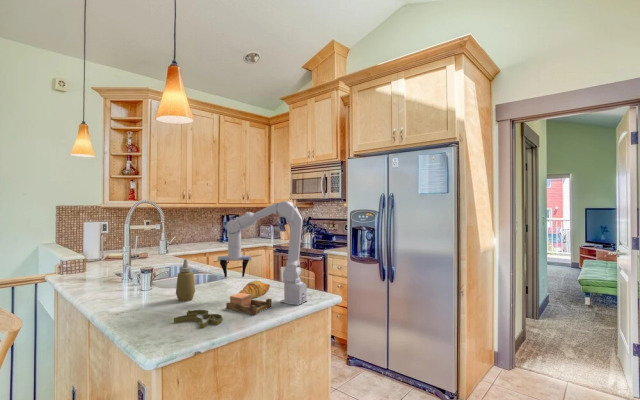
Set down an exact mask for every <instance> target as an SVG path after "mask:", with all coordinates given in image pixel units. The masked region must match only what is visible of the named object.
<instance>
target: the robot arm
mask: <svg viewBox="0 0 640 400" xmlns="http://www.w3.org/2000/svg"><path fill="white" fill-rule="evenodd" d="M272 214H275V215H280V216H281V217H283V218H285V219H286V220H287V222H289V223H290V232H289V239H288V240H289V241H288V254H287V261H286V264H285V269H284V271H283V272H282V277H283V279H284V280H283V281H284V283H283V285H284V286H283V289H284V290H283V295H284V296H283V297H284V298H283V299H282V300H280V301H279V302H280V303H282V302H284V303H285V304H288V303H289V304H290V305H294V304H295V305H294V306H300V305H301V303H302V304H304V303H306V302H308V298H307V297H308V295H307V294H308V292H307V289H308V288H307V284H306V283H305V282H303V281H302V280H301V277H300V276H301V274H302V268H301V261H300V253H301V241H302V232H303V231H302V230H303V217H302V215H301V213H300V211H299V209H298V207H297V205H295V203H294V202H292V201H290V200H287V201H285V200H283V201H280V202H276V203H272V204H270V205H269V206H266V207H265V208H263V209H260V210H259V211H257V212H251V211H249V212H248V211H246V212H244V214H243V215H240V216H236V217H235V219H231V220H228V221H227V223H226V224H225V228H226V231H227V255H221V256H220V255H219V256H217V262H219V264H220V267H221V269H222V271H223V274H224V275H223V276H224V278H227V277H228V271H227V270H228V268H227V267H228V266H227V265H228V261H234V262H235V261H237V262H238V261H241V262H242V263H241V264H242V271H241V277H242V278H244V277H245V273H246V269H247V266H248V263H249V262H251V261H252V255H242V231H243V230H245V229H248V228H249V227H252V226H254V225H256V224H257V222H258V220H261V219H263V218H265V217H267V216H270V215H272ZM305 301H306V302H305ZM303 302H304V303H303ZM284 303H283V304H284ZM299 304H300V305H299Z"/></svg>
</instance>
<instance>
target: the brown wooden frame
mask: <svg viewBox="0 0 640 400" xmlns="http://www.w3.org/2000/svg"><path fill="white" fill-rule="evenodd" d="M225 306H226V308H225V309H226V310H229V311H236V312H240V313H244V314H249V315H250V316H252V315H253V316H257V314H258V313H260V311H261V312H263V311H265V310H267V309H268V308H270V307H272V298H267V299H265V301H264V300H257V299H254V298H251V305H250V306H244V305H239V304H234V303H230V301H229V302H226V304H225ZM266 308H267V309H266ZM264 309H265V310H264ZM270 309H271V308H270ZM262 310H263V311H262Z"/></svg>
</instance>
